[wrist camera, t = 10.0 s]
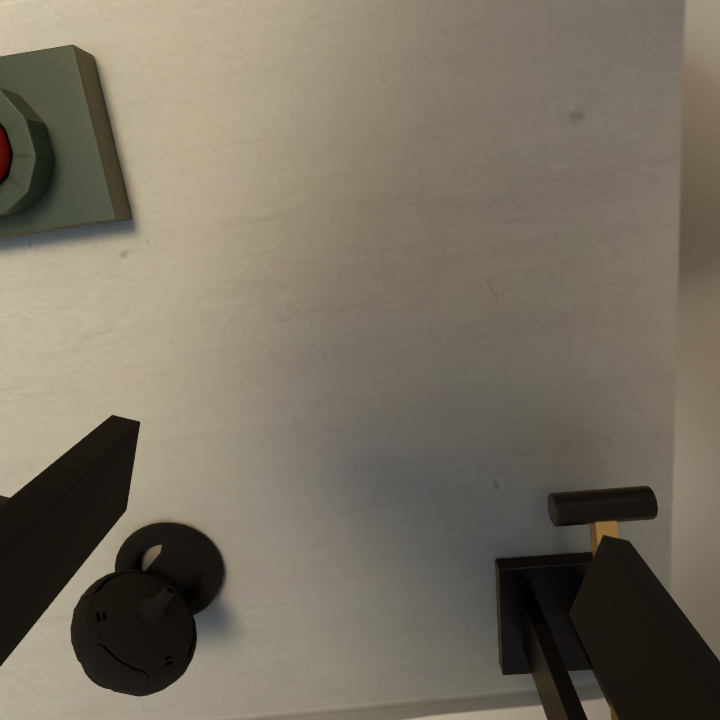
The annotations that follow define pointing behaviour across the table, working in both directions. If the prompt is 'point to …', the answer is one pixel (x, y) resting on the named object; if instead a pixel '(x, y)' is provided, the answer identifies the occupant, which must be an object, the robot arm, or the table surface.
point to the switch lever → (602, 512)
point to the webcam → (146, 611)
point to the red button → (4, 154)
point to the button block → (57, 144)
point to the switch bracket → (543, 627)
